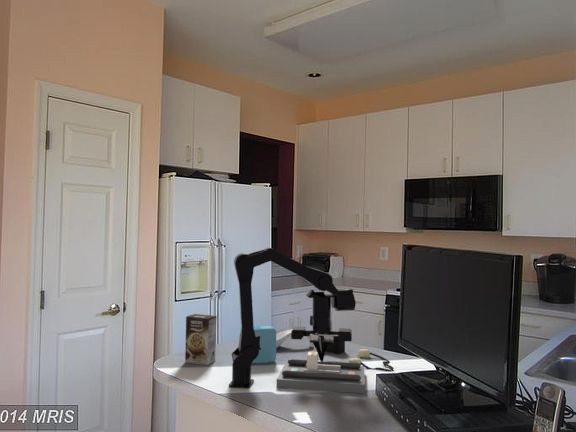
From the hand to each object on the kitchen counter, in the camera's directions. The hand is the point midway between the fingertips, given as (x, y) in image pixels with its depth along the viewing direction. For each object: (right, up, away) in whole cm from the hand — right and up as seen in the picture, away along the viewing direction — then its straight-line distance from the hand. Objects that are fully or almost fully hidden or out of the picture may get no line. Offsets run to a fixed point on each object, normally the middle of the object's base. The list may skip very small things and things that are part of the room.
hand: (321, 361), depth 146 cm
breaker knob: (-3, -3, 0) cm, 4 cm away
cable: (+19, -7, +19) cm, 28 cm away
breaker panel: (0, -6, 0) cm, 6 cm away
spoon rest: (-12, -7, +40) cm, 42 cm away
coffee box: (-41, -6, +18) cm, 46 cm away
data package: (-21, -6, +19) cm, 29 cm away
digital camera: (+7, -7, +35) cm, 36 cm away
